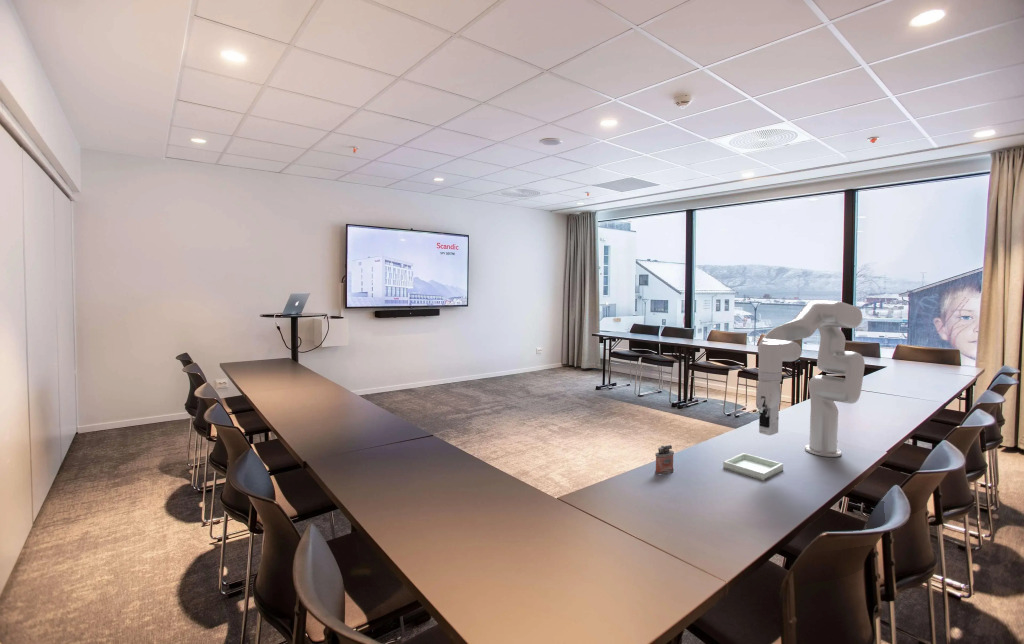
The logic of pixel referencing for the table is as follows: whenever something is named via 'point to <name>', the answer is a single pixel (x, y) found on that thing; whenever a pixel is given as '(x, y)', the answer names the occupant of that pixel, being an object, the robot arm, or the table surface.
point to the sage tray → (753, 466)
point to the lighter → (664, 460)
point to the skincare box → (771, 422)
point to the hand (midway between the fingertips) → (768, 424)
